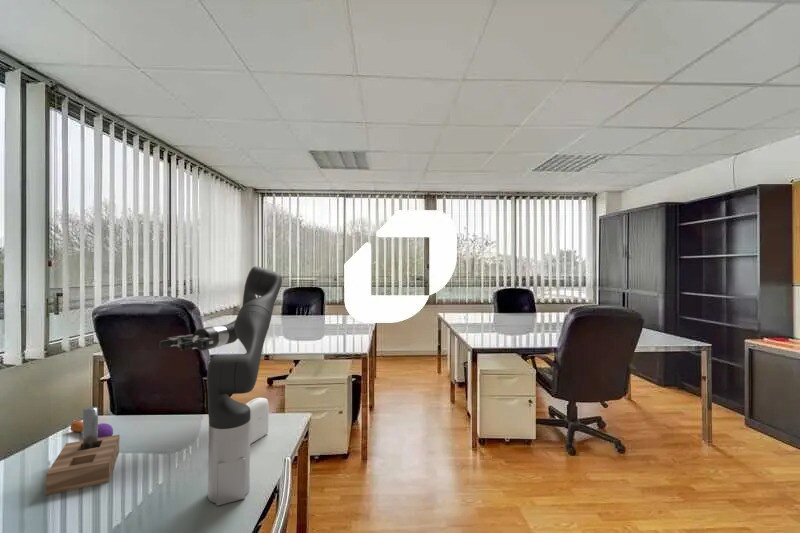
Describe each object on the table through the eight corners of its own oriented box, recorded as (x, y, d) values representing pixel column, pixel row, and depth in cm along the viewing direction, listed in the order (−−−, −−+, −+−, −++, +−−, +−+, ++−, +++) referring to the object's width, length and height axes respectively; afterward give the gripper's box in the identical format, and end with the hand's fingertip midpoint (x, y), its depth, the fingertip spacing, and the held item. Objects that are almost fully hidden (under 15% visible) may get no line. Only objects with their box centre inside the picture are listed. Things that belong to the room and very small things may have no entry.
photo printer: (248, 446, 117) (248, 406, 117) (236, 444, 118) (237, 404, 118) (270, 433, 127) (271, 395, 127) (259, 431, 128) (260, 393, 128)
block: (108, 482, 97) (109, 462, 97) (45, 495, 91) (46, 474, 91) (119, 451, 113) (119, 434, 113) (66, 461, 107) (66, 443, 107)
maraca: (89, 415, 130) (118, 423, 120) (85, 434, 129) (114, 443, 119) (67, 417, 125) (96, 426, 115) (63, 437, 124) (92, 447, 114)
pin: (96, 460, 105) (96, 409, 105) (81, 463, 104) (81, 411, 104) (98, 455, 108) (98, 405, 108) (84, 458, 107) (84, 407, 107)
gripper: (195, 325, 136) (153, 332, 121) (228, 327, 132) (188, 335, 116) (195, 346, 136) (152, 356, 121) (227, 349, 132) (187, 360, 116)
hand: (170, 346), depth 119 cm, fingers open, 8 cm apart
